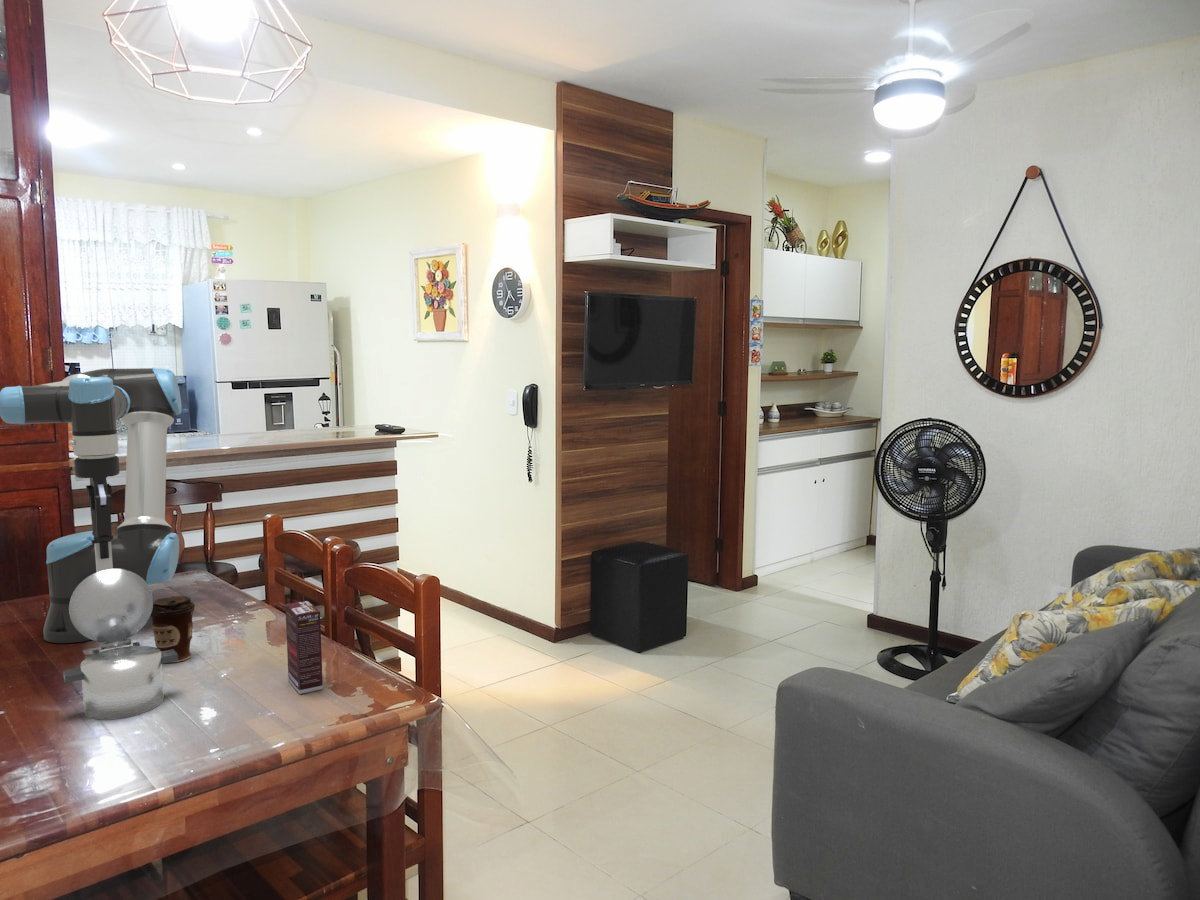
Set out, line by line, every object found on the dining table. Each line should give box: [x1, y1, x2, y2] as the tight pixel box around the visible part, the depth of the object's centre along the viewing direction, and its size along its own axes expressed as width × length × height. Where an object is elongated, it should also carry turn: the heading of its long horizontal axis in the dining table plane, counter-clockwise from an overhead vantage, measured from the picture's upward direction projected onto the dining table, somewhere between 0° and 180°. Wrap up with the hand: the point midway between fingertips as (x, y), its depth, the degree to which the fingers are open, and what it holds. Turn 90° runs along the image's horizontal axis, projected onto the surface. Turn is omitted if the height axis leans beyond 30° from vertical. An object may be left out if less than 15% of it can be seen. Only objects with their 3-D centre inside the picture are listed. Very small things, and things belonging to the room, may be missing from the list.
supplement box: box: [285, 600, 324, 695], centre depth 165 cm, size 9×5×16 cm, turn 34°
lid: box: [69, 569, 154, 651], centre depth 162 cm, size 15×14×4 cm
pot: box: [62, 641, 178, 721], centre depth 157 cm, size 14×18×9 cm
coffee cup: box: [150, 595, 195, 664], centre depth 179 cm, size 9×8×13 cm
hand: (104, 573), depth 167 cm, fingers closed
